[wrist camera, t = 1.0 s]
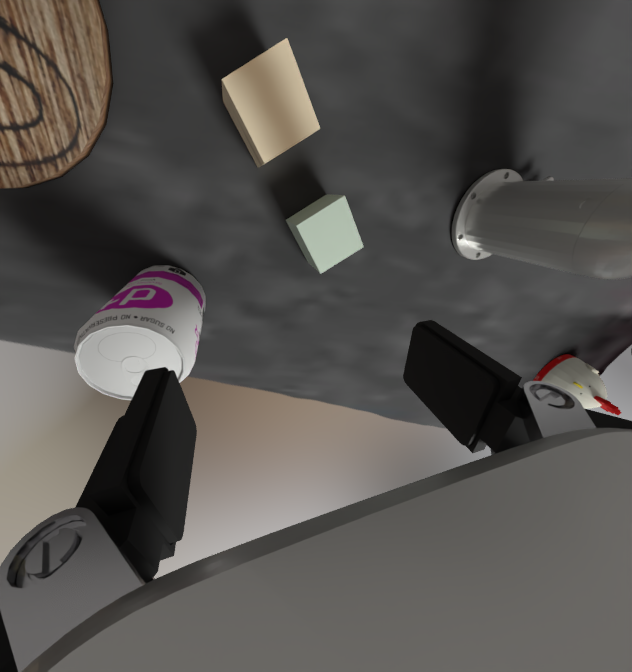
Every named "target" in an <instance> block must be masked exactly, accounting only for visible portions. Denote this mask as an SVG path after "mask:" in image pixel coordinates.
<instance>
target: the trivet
mask: <svg viewBox="0 0 632 672" xmlns="http://www.w3.org/2000/svg"><path fill="white" fill-rule="evenodd" d="M112 88H113V76H112V65H111V55H110V45H109V34H108V29H107V25H106V22H105V19H104V15H103V12H102V9H101V5H100V2H99V0H0V188H28V187H31V186H34V185H37V184H41V183H44V182H47V181H50V180H53V179H56V178H60V177H63V176H64V175H65V174H66V173H68V172H69V171H70V170H71V169H73V168H74V167H75V166H76V165H78V164H79V163H80V162H82V161H83V160H84V159H85V158H87V157H88V156H89V155H90V153H91V151H92V149H93V148H94V146H95V144H96V142H97V140H98V139H99V137H100V135H101V133H102V131H103V130H104V128H105V126H106V123H107V118H108V112H109V106H110V100H111V94H112Z"/></svg>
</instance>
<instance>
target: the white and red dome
mask: <svg viewBox="0 0 632 672" xmlns="http://www.w3.org/2000/svg"><path fill="white" fill-rule="evenodd" d="M597 373H599V371H597V370H596V369H594V368H593V367H591V366H590V365H588V364H587V363H586V364H585V363H584V362H583V361H581V360H580V359H578V358H576V357H574V356H572V355H569V354H565V355H561V356H559V357H557V358H555V359H554V360H552V361H551V362H549V363H548V364H547V365H546V366H545V367H544V368H543V369H542V370H541V371H540V372H539V373H538V374H537V376H536V377H535V379H534V380H533V381H541V382H546V383H550V384H553V385H556V386H558V387H561V388H563V389H564V390H566V391H568V392H570V393H571V394H572V395H574V396H575V397H576V398H577V399H578V400H579V401H580V403H581V404H582V406H583V408H584V409H590V408H596V407H601V408H603V409H604V410H606V411H607V412H608V411H609V412H611V413H615V414H617V415H619V414H620V413H621V412H620V410H618V407H616V406H614V405H613V404H611V402H609V401H607V391H606V387H605V385H604V383H603V381H602V380H601V378H600V377H599V375H598V374H597Z"/></svg>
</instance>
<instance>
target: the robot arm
mask: <svg viewBox="0 0 632 672" xmlns="http://www.w3.org/2000/svg"><path fill="white" fill-rule="evenodd" d="M452 242H453V245H454V248H455V249H456V251H457V252H458V253H459V254H460V255H461V256H463V257H465V258H468V259H472V260H478V259H483V258H486V257H488V256H490V255H492V254H495V255H499V256H503V257H508V258H512V259H516V260H520V261H524V262H528V263H532V264H536V265H540V266H544V267H549V268H553V269H557V270H561V271H565V272H569V273H573V274H577V275H582V276H586V277H590V278H595V279H603V280H616V279H624V278H630V277H632V178H621V179H585V180H554V179H553V178H552V177H550V176H549V177H546V178H545V179H543V180H541V181H523V179H522V177H521V176H520V175H519V174H518V173H517V172H516V171H513V170H511V169H499V170H494V171H491V172H488V173H486V174H485V175H483V176H482V177H480V178H479V179H478V180H477V181H476V182H474V183H473V184H472V186H471V187H470V188H469V189H468V190H467V192H466V193H465V195H464V196H463V198H462V199H461V201H460V203H459V205H458V207H457V210H456V212H455V215H454V219H453V223H452ZM631 353H632V350H631ZM403 378H404V381H405V383H406V384H407V385H408V386H409V387H410V389H411V390H412V391H413V392H414V393H415V394H416V395H417V396H418V397H419V398H420V400H421V401H422V402H423V403H424V404H425V405H426V406H427V407H428V408H429V409H430V411H431V412H432V413H433V414H434V415H435V416H436V417H437V418H438V419H439V420H440V421H441V423H442V424H443V425H444V426H445V427H446V428H447V429H448V430H449V431H450V432H451V434H453V436H454V437H455V438H456V439H457V440H458V441H459V442H460V443H461V444H462V445H465V446H466V447H467V448H468V449H469V450H470V451H471V452H472V453H475V452H478V451H480V450H484V449H485V447H486V445H488V446H489V447H490V448H491V454H492V455H491V456H488V457H485V458H482V459H479V460H476V461H474V462H470V463H468V464H465V465H462V466H459V467H456V468H453V469H450V470H447V471H445V472H442V473H439V474H436V475H433V476H430V477H428V478H425V479H422V480H419V481H416V482H414V483H410V484H408V485H405V486H402V487H399V488H396V489H394V490H391V491H388V492H385V493H382V494H380V495H377V496H374V497H371V498H368V499H365V500H363V501H360V502H357V503H354V504H351V505H348V506H346V507H343V508H340V509H337V510H335V511H332V512H329V513H326V514H323V515H321V516H318V517H315V518H312V519H310V520H307V521H304V522H301V523H298V524H296V525H293V526H290V527H287V528H284V529H282V530H279V531H276V532H273V533H270V534H268V535H265V536H263V537H260V538H257V539H255V540H252V541H249V542H246V543H244V544H241V545H238V546H236V547H233V548H231V549H228V550H226V551H223V552H220V553H217V554H215V555H212V556H209V557H207V558H204V559H202V560H199V561H196V562H194V563H192V564H189V565H187V566H185V567H182V568H180V569H178V570H175V571H173V572H171V573H168V574H166V575H164V576H162V577H159V578H157V579H155V578H154V576H155V574H156V573H157V572H158V567H159V562H160V560H163V559H166V558H169V557H172V556H174V551H175V545H176V542H177V541H180V540H181V539H182V536H183V532H184V525H185V516H186V510H187V501H188V495H189V487H190V479H191V472H192V464H193V457H194V449H195V441H196V432H197V430H196V424H195V421H194V419H193V416H192V414H191V411H190V409H189V406H188V404H187V401H186V398H185V396H184V393H183V391H182V388H181V386H180V383H179V381H178V378H177V376H176V373H175V371H174V370H170V371H169V370H168V369H167V368H166V367H162V368H156V369H151V370H146V371H145V372H144V374H143V376H142V378H141V381H140V383H139V385H138V387H137V389H136V391H135V394H134V396H133V398H132V400H131V403H130V405H129V407H128V409H127V411H126V413H125V415H124V416H122V417H121V418H119V419H118V421H117V422H116V424H115V426H114V429H113V431H112V433H111V435H110V437H109V439H108V441H107V443H106V445H105V447H104V449H103V451H102V453H101V456H100V458H99V460H98V462H97V464H96V466H95V468H94V470H93V472H92V474H91V476H90V479H89V481H88V482H87V485H86V487H85V489H84V491H83V493H82V495H81V497H80V499H79V501H78V503H77V505H76V507H75V508H71V509H66V510H64V511H62V512H59V513H57V514H55V515H53V516H51V517H49V518H48V519H46V520H44V521H43V522H41V523H40V524H38V525H37V526H36V527H35V528H33V529H32V530H31V531H30V532H29V533H27V534H26V535H25V536H24V537H23V538H22V539H21V540H20V541H19V542H18V543H17V544H16V545H15V547H13V549H12V550H11V551H10V552H9V554H8V555H7V557H6V558H5V560H4V561H3V563H2V564H1V566H0V672H632V421H629V420H625V419H621V418H618V417H614V416H610V415H606V414H603V413H599V412H595V411H591V410H587V409H584V408H583V406H582V404H581V403H580V401H579V400H578V399H577V398H576V397H575V396H574V395H572V394H571V393H570V392H568V391H566V390H564V389H563V388H561V387H558V386H556V385H553V384H550V383H546V382H541V381H529V382H527V383H525V385H524V386H523V388H520V387H519V386H518V384H519V382H520V380H521V378H522V377H520V376H519V375H517V374H515V373H514V372H512V371H511V370H509V369H508V368H506V367H505V366H503V365H501V364H500V363H498V362H497V361H495V360H494V359H492V358H491V357H489V356H487V355H486V354H484V353H483V352H481V351H480V350H478V349H477V348H475V347H473V346H472V345H470V344H469V343H467V342H466V341H464V340H463V339H461V338H459V337H458V336H456V335H455V334H453V333H452V332H450V331H449V330H447V329H445V328H444V327H442V326H441V325H439V324H438V323H436V322H435V321H432V320H429V321H423V322H419V323H417V324H416V326H415V327H414V328H413V331H412V336H411V341H410V346H409V350H408V355H407V360H406V365H405V370H404V375H403Z"/></svg>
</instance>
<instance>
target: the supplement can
mask: <svg viewBox="0 0 632 672" xmlns="http://www.w3.org/2000/svg"><path fill="white" fill-rule="evenodd" d="M205 307H206V296H205V294H204V291H203V289H202V286H201V285H200V284H199V282H198V281H197V280H196V279H195V278H194V277H193V276H192V275H190V274H189V273H187V272H185V271H184V270H182V269H180V268H176V267H172V266H169V265H161V266H152V267H149V268H147V269H144V270H142V271H141V272H140V273H138V274H137V275H136V276H135V277H134V278H133V279H132V280H131V281H130V282H129V283H128V284H127V285H126V286H125V287H124V288H122V289H121V290H120V291H119V292H118V293H117V294H116V295H115V296H114V297H113V298H112V299H111V300H110V301H109V302H108V303H107V304H105V305H104V306H103V307H102V308H101V309H100V310H99V311H98V312H97V313H96V314H95V315H94V316H93V317H92V318H91V319H90V320H89V321H88V322H87V323H86V324H85V325H84V326H83V327H82V328H81V329H80V330H79V331H78V334H77V337H76V341H75V345H74V348H75V352H76V356H75V363H76V366H77V370H78V373H79V374H80V375H81V377H82V378H83V379H84V380H85V381H86V383H88V385H89V386H91V387H93V388H94V389H96V390H98V391H99V392H101V393H103V394H105V395H108V396H112V397H115V398H118V399H124V400H132V398H133V396H134V394H135V391H136V389H137V387H138V385H139V383H140V381H141V378H142V376H143V374H144V372H145V371H146V370H151V369H156V368H162V367H166V368H167V369H168V370H169V371H170V370H174V371H175V373H176V376H177V378H178V381H179V383H180V382H181V381H182V380H183V379H185V378H186V377H187V376H188V375H189V373H190V371H191V369H192V367H193V365H194V363H195V358H196V353H197V348H198V343H199V338H200V332H201V327H202V322H203V317H204V312H205Z"/></svg>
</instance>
